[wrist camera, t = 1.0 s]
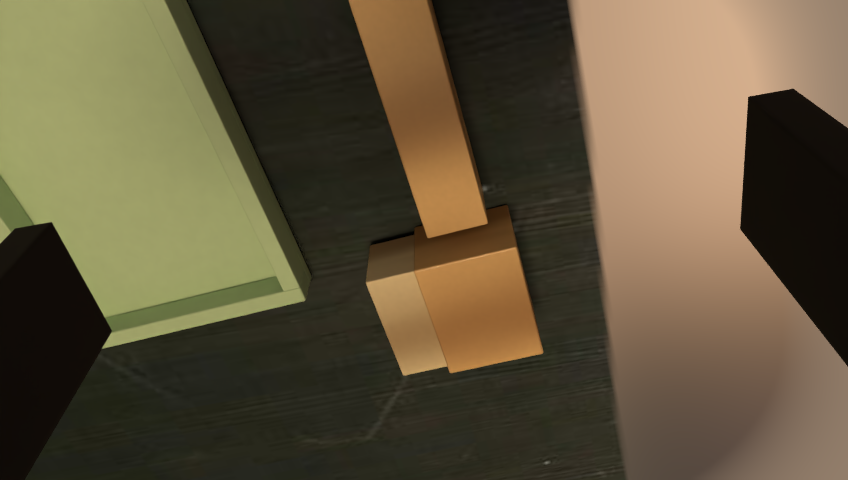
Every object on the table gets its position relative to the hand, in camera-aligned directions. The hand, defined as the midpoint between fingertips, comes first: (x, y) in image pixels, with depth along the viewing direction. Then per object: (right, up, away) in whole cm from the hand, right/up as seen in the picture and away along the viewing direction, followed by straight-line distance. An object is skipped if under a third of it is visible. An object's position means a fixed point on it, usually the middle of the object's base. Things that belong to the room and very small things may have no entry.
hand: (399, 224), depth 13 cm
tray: (-14, +6, +15) cm, 21 cm away
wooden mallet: (0, +3, +17) cm, 17 cm away
